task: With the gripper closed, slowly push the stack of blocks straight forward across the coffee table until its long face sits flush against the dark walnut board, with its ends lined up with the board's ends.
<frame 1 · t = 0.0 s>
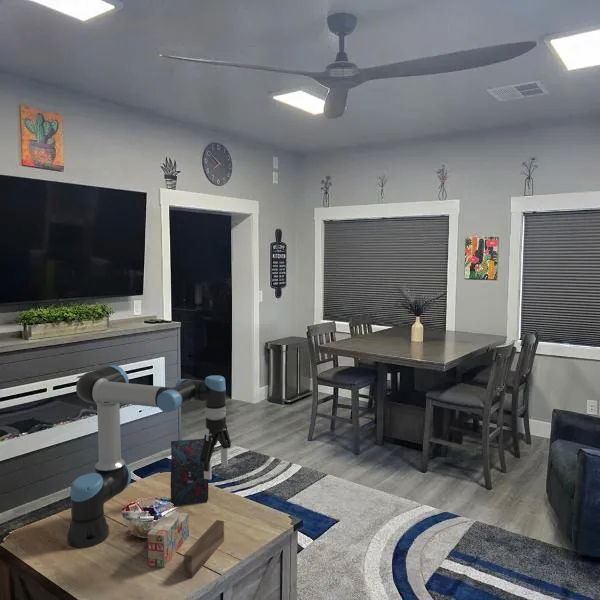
hand: (216, 471, 194), 28 cm above the table, fingers open, 13 cm apart
walnut board: (205, 557, 186), on the table
stack of blocks: (169, 550, 191), on the table
decorative box: (189, 500, 229), on the table
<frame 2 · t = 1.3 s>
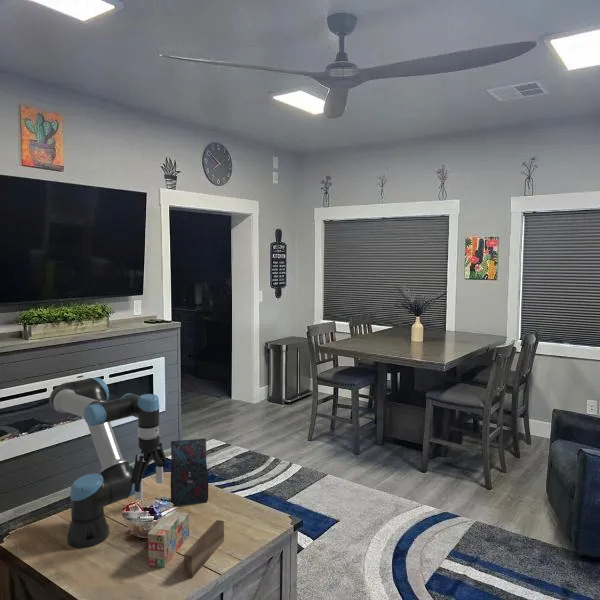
hand: (149, 490, 192), 21 cm above the table, fingers open, 13 cm apart
nothing on the table moved.
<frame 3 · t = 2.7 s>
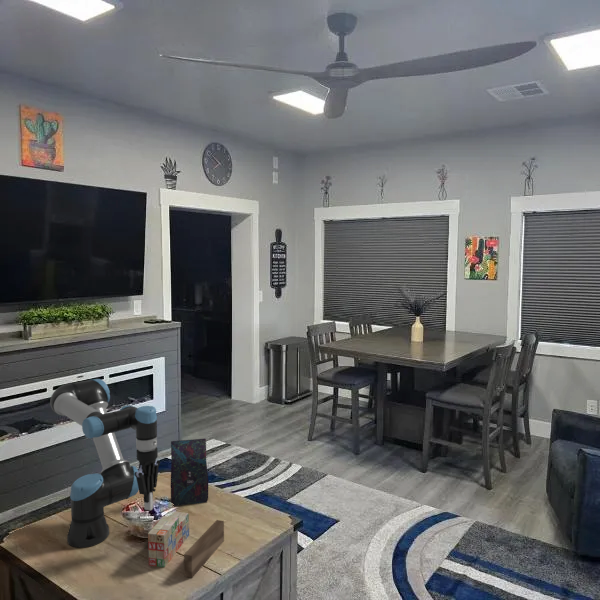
hand: (148, 509, 192), 15 cm above the table, fingers closed
nothing on the table moved.
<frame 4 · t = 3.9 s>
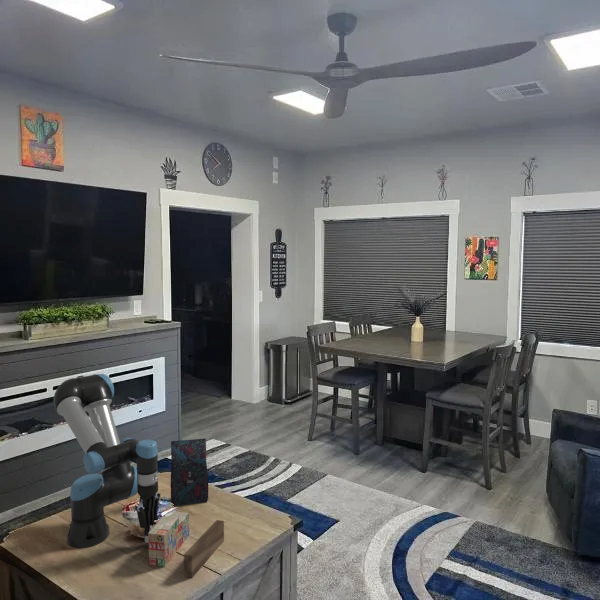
hand: (149, 541, 193), 1 cm above the table, fingers closed
nothing on the table moved.
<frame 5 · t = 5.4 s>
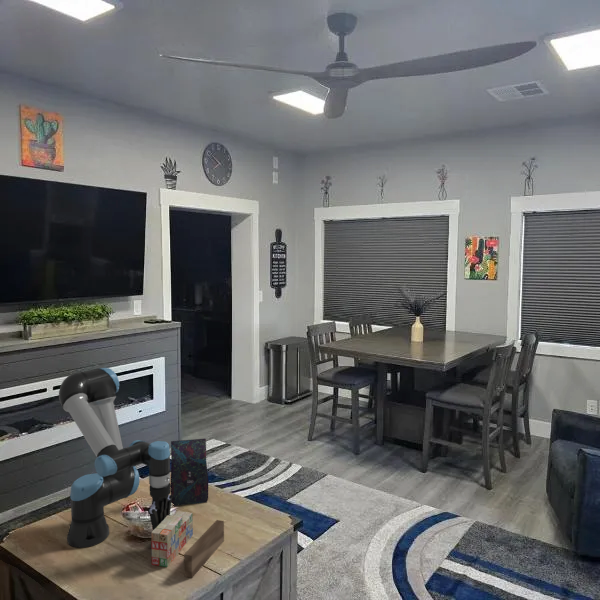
hand: (161, 544, 191), 2 cm above the table, fingers closed
stack of blocks: (173, 549, 191), on the table, touching gripper, hand
everything else where it was.
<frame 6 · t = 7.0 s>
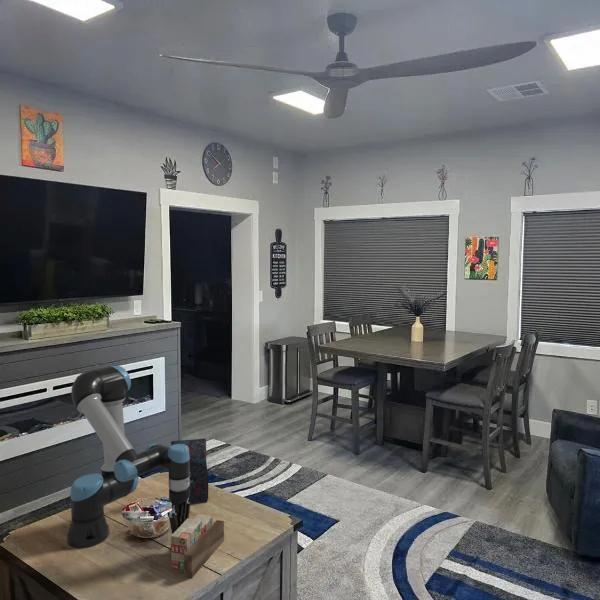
hand: (180, 548, 189), 2 cm above the table, fingers closed
stack of blocks: (193, 553, 189), on the table, touching gripper
everything else where it was.
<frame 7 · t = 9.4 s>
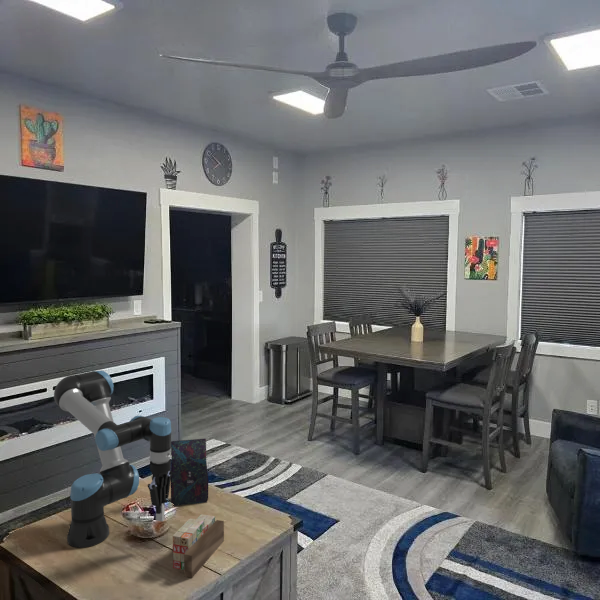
hand: (160, 519, 191), 11 cm above the table, fingers closed
stack of blocks: (195, 553, 189), on the table
everything else where it was.
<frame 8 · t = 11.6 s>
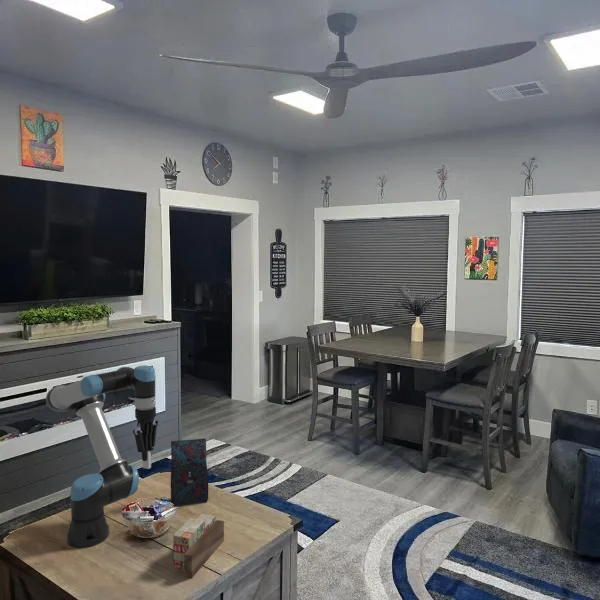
hand: (146, 467, 194), 29 cm above the table, fingers closed
nothing on the table moved.
at the end: stack of blocks 2.0 cm from the target spot on the table beside the walnut board, on the table; stack of blocks tilted 0°; the gripper is holding nothing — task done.
